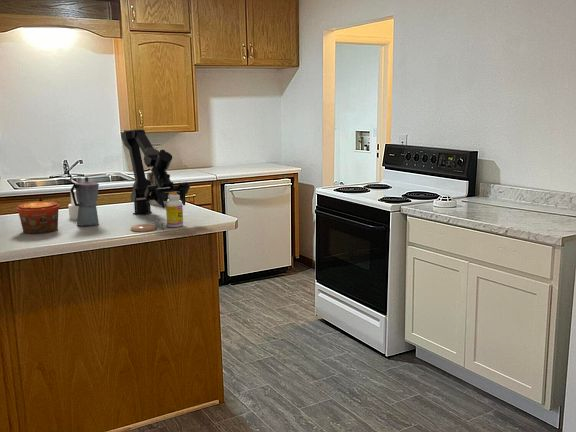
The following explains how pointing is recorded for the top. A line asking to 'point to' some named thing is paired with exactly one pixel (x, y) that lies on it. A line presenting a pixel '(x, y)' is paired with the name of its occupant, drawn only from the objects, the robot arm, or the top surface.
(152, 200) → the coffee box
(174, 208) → the supplement bottle
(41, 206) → the food container
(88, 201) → the moka pot
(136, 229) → the coaster
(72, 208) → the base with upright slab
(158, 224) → the low wall
